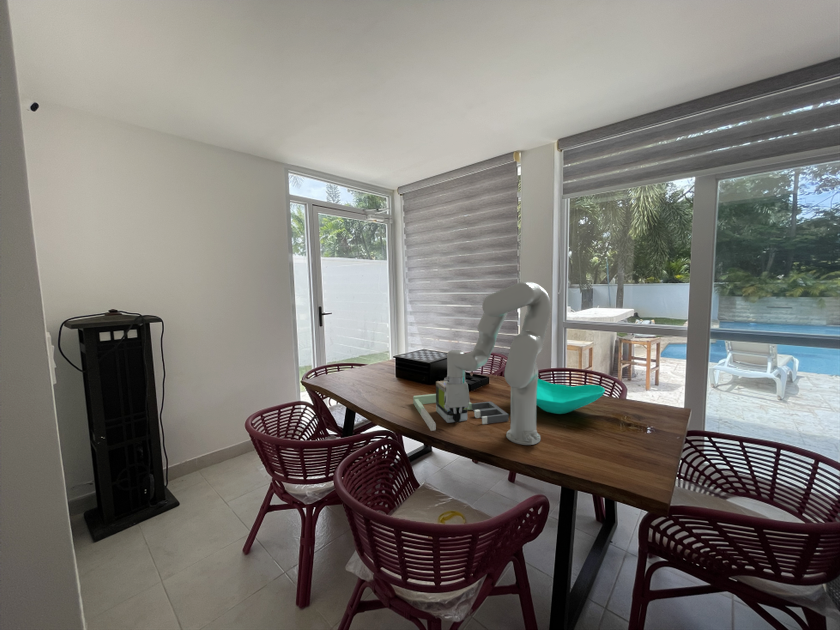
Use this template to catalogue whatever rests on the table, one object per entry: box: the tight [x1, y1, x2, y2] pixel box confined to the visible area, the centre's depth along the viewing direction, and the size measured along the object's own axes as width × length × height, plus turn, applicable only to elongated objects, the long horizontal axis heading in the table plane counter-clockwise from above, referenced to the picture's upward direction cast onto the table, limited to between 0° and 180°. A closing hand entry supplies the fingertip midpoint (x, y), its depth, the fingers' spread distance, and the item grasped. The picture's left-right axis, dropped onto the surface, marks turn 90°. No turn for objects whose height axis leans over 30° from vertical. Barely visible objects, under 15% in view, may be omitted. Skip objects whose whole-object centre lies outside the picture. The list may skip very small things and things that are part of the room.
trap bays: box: [471, 401, 510, 425], centre depth 152 cm, size 17×10×3 cm, turn 14°
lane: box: [412, 393, 487, 432], centre depth 156 cm, size 33×25×4 cm
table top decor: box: [536, 378, 606, 415], centre depth 155 cm, size 40×28×13 cm
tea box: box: [435, 380, 468, 423], centre depth 152 cm, size 15×10×15 cm
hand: (456, 421), depth 143 cm, fingers closed
